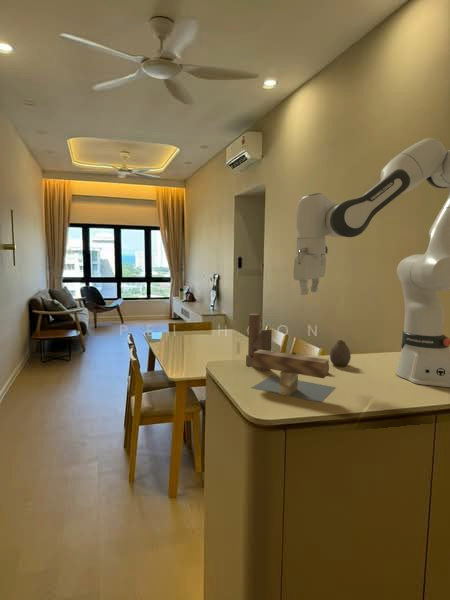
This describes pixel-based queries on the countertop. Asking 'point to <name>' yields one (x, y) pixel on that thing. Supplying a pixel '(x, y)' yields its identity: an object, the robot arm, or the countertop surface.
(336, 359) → the vase
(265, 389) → the slate mat
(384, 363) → the countertop surface
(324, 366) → the walnut bar
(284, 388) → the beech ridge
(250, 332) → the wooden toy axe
